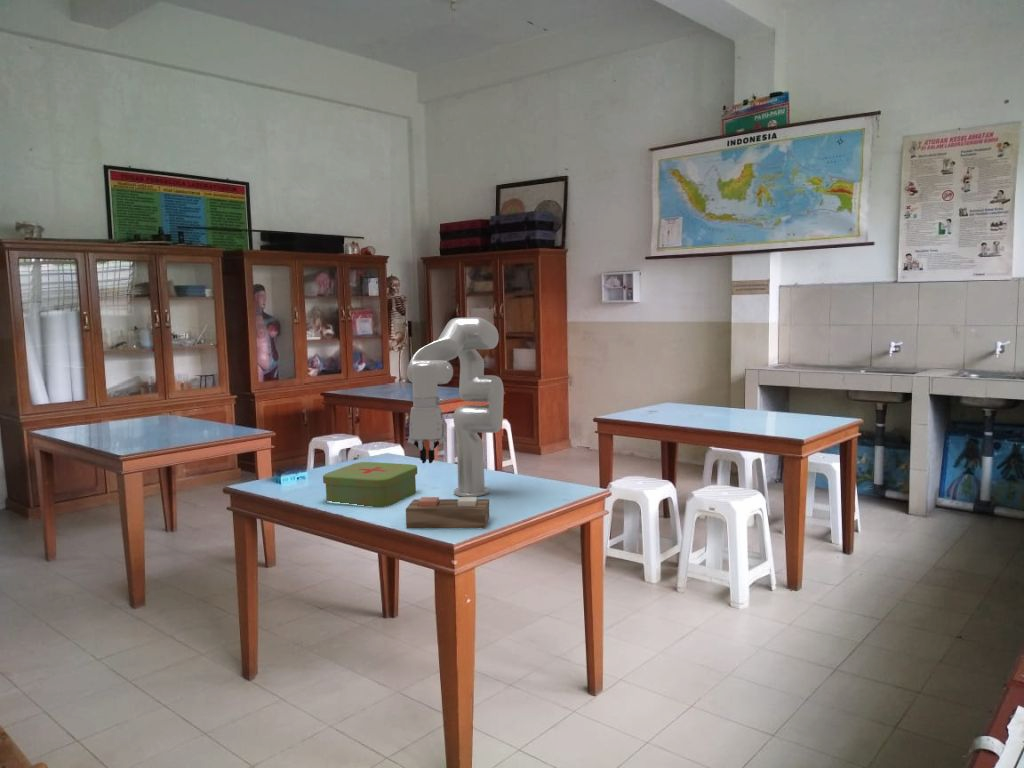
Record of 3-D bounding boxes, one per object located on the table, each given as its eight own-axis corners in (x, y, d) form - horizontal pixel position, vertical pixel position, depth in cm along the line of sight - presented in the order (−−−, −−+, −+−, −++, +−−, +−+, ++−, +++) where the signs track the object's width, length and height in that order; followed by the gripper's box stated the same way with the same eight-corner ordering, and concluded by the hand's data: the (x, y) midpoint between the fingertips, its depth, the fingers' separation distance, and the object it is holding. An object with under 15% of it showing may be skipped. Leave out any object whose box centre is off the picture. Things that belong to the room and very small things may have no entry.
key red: (422, 511, 237) (421, 497, 237) (439, 511, 237) (439, 497, 236) (418, 515, 232) (418, 501, 231) (436, 515, 231) (435, 501, 231)
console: (414, 517, 241) (413, 499, 240) (489, 517, 239) (489, 499, 238) (406, 528, 229) (405, 509, 228) (485, 528, 227) (484, 508, 226)
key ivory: (460, 511, 236) (460, 497, 236) (477, 511, 236) (477, 496, 235) (457, 515, 231) (457, 501, 230) (475, 515, 230) (475, 501, 230)
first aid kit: (360, 487, 287) (359, 461, 286) (422, 491, 278) (421, 464, 277) (319, 504, 263) (318, 475, 262) (385, 509, 253) (384, 479, 252)
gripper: (452, 401, 234) (454, 459, 236) (403, 401, 235) (405, 460, 237) (449, 404, 227) (450, 464, 228) (397, 404, 228) (399, 465, 229)
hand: (427, 462), depth 233 cm, fingers closed
